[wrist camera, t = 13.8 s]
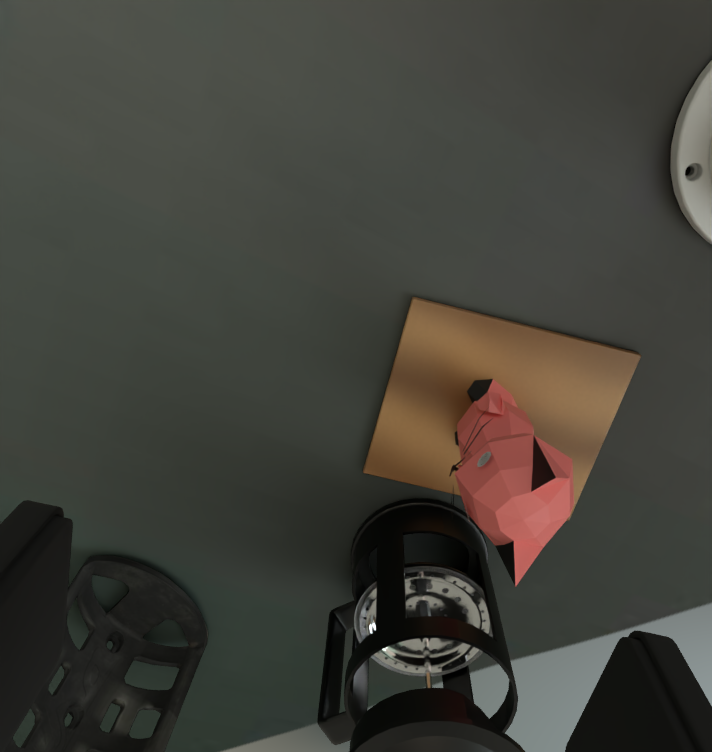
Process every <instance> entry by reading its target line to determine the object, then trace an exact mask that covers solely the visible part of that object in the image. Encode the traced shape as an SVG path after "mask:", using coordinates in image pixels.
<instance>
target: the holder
mask: <svg viewBox="0 0 712 752" xmlns="http://www.w3.org/2000/svg"><path fill="white" fill-rule="evenodd" d="M92 575H98V576H103V577H107V578H112V579H116V580H120V581H123V582H124V583H126V584H127V585H128V587H129V592H128V593H127V594H126V595H125V596H124V597H123V598H122V599H121V600H120V601H119V602H118V603H117V604H116V605H115V606H114V607H113V608H112V609H111V611H110V612H107V613H106V612H105V611H104V610H103V609H102V607H101V606H100V604H99V603H98V601H97V599H96V597H95V595H94V592H93V589H92V583H91V579H92ZM76 597H77V602H78V606H79V610H80V613H81V615H82V617H83V619H84V621H85V623H86V625H87V627H88V630H89V634H88V637H87V639H86V640H85V642H84V644H83V646H82V647H81V649H80V650H78V649H77V647H76V646H75V644H74V643H73V641H72V639H71V636H70V634H69V631H68V626H67V615H68V611H69V610H70V608H71V606H72V604H73V602H74V600H75V599H76ZM167 619H170V620H175V621H176V622H177V623H179V624H180V626H181V628H182V630H183V632H184V634H185V636H186V639H187V641H188V644H189V646H186V647H170V646H164V645H159V644H155V643H152V642H149V641H147V640H145V639H143V636H144V635H145V634H146V633H148V632H149V631H150V630H152V629H153V628H154V627H156V626H157V625H159V624H160V623H161V622H163V621H164V620H167ZM108 641H111V642H112V643H113V647H112V649H111V651H110V650H109V649H108V648H107V643H108ZM207 641H208V631H207V627H206V624H205V622H204V619H203V617H202V615H201V613H200V611H199V609H198V607H197V606H196V605H195V604H194V602H193V601H192V600H191V599H190V598H189V597H188V595H187V594H186V593H185V592H184V591H183V590H182V589H180V588H179V587H178V586H177V585H176V584H174V583H173V582H172V581H171V580H170V579H169V578H167V577H166V576H164V575H163V574H161V573H159V572H157V571H155V570H153V569H151V568H149V567H147V566H145V565H143V564H140V563H138V562H135V561H133V560H129V559H125V558H121V557H116V556H109V555H98V556H93V557H89V558H88V559H87V561H86V562H85V563H84V565H83V566H82V567H81V569H80V570H79V572H78V573H77V575H76V576H75V578H74V579H73V581H72V583H71V584H70V586H69V587H68V595H67V608H66V621H65V634H64V644H63V649H62V652H61V655H60V658H59V660H58V662H57V664H56V666H55V668H54V670H53V671H52V673H51V675H50V676H49V678H48V680H47V681H46V683H45V684H44V686H43V688H42V689H41V691H40V693H39V694H38V696H37V698H36V699H35V701H34V703H33V704H32V706H31V710H32V711H33V713H34V715H35V725H34V727H33V728H32V730H31V732H30V733H29V735H28V737H27V738H26V740H25V741H24V743H23V745H22V746H21V748H19V747H18V746H17V745H16V744H15V742H14V740H13V738H12V739H11V741H10V743H9V744H8V746H7V747H6V749H5V751H4V752H164V751H165V749H166V746H167V744H168V741H169V738H170V736H171V733H172V731H173V728H174V726H175V723H176V721H177V718H178V715H179V713H180V710H181V707H182V705H183V702H184V700H185V697H186V695H187V692H188V690H189V687H190V684H191V682H192V679H193V677H194V674H195V672H196V669H197V667H198V664H199V662H200V659H201V657H202V654H203V652H204V649H205V647H206V645H207ZM135 660H136V661H140V662H144V663H148V664H152V665H160V666H169V667H177V668H179V672H178V674H177V677H176V679H175V682H174V684H173V686H172V688H171V689H169V690H160V691H158V690H147V689H142V688H137V687H134V686H131V685H128V684H126V683H125V679H124V677H125V675H126V673H127V671H128V669H129V667H130V665H131V663H132V662H133V661H135ZM60 666H62V667H63V669H64V677H63V679H62V680H61V682H60V684H59V685H58V687H57V689H56V690H55V692H54V693H53V695H51V693H50V692H49V691H48V687H49V684H50V682H51V681H52V679H53V677H54V676H55V674H56V672H57V671H58V669H59V667H60ZM111 703H113V704H116V705H119V706H120V712H119V714H118V716H117V718H116V720H115V722H114V724H113V726H112V728H111V730H110V732H109V733H107V732H104V731H102V730H101V728H100V725H101V723H102V720H103V718H104V716H105V714H106V712H107V710H108V708H109V706H110V704H111ZM140 710H156V711H158V712H159V713H161V715H160V718H159V720H158V722H157V725H156V727H155V729H154V732H153V734H152V736H151V737H150V738H145V739H135V738H131V737H130V736H129V732H130V729H131V727H132V724H133V722H134V720H135V718H136V716H137V714H138V711H140ZM68 713H69V714H70V715H71V716H72V717H73V719H72V721H71V723H70V725H69V726H68V727H65V725H64V719H65V717H66V716H67V714H68Z"/></svg>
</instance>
